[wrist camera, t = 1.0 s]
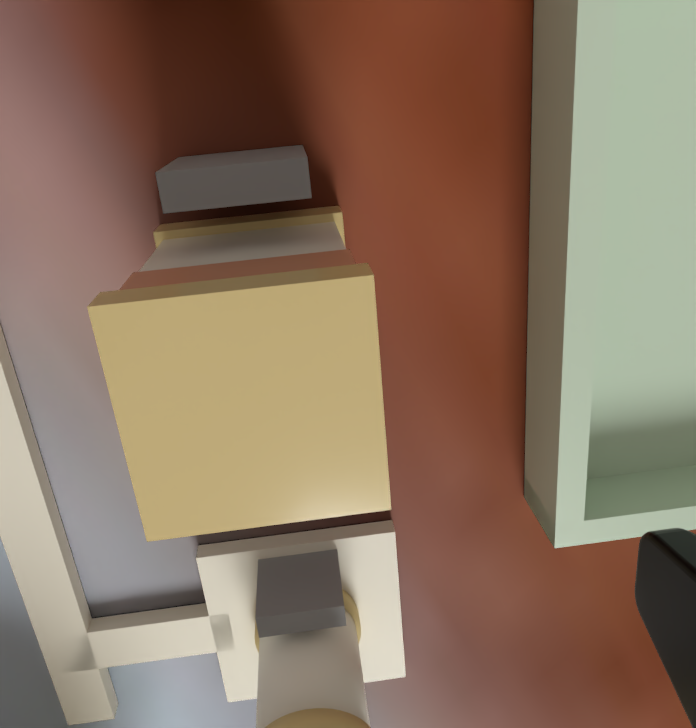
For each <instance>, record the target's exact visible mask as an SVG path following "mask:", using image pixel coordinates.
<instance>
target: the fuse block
mask: <svg viewBox="0 0 696 728" xmlns="http://www.w3.org/2000/svg"><path fill="white" fill-rule="evenodd" d="M155 174H156V179H157V184H158V189H159V194H160V200H161V205H162V210H163V214H164V213H174V212H183V211H193V210H203V209H212V208H222V207H231V206H241V205H250V204H260V203H270V202H279V201H289V200H298V199H308V198H312V195H311V186H310V176H309V167H308V158H307V155H306V152H305V150H304V147H303V145H295V146H285V147H275V148H265V149H255V150H245V151H235V152H225V153H215V154H205V155H195V156H185V157H178V158H176V159H175V160H173V161H172V162H170V163H169V164H167V165H166V166H164V167H163V168H161V169H160V170H158V171H157V172H155ZM0 537H1V540H2V543H3V545H4V548H5V551H6V554H7V557H8V559H9V562H10V565H11V568H12V570H13V573H14V576H15V579H16V582H17V584H18V587H19V590H20V593H21V595H22V598H23V601H24V604H25V607H26V609H27V612H28V615H29V618H30V620H31V623H32V626H33V629H34V632H35V634H36V637H37V640H38V643H39V646H40V648H41V651H42V654H43V657H44V659H45V662H46V665H47V668H48V671H49V673H50V676H51V679H52V682H53V684H54V687H55V690H56V693H57V696H58V698H59V701H60V704H61V707H62V709H63V712H64V715H65V718H66V721H67V723H68V725H75V724H82V723H89V722H96V721H103V720H110V719H114V718H115V714H116V711H117V707H118V700H117V697H116V694H115V691H114V688H113V684H112V681H111V678H110V675H109V671H108V668H107V667H114V666H121V665H128V664H136V663H143V662H150V661H157V660H164V659H171V658H178V657H186V656H193V655H200V654H207V653H214V652H217V655H218V659H219V664H220V669H221V673H222V678H223V682H224V687H225V691H226V696H227V700H228V702H235V701H242V700H249V699H255V698H257V715H256V728H371V727H370V723H369V716H368V709H367V701H366V694H365V687H364V683H366V682H373V681H380V680H387V679H394V678H401V677H406V675H405V661H404V647H403V634H402V620H401V606H400V593H399V579H398V565H397V551H396V538H395V530H394V526H393V522H392V520H388V521H380V522H373V523H365V524H357V525H350V526H342V527H335V528H327V529H319V530H312V531H304V532H296V533H289V534H281V535H274V536H266V537H258V538H251V539H243V540H236V541H228V542H220V543H213V544H205V545H198V550H197V556H196V560H197V565H198V569H199V574H200V578H201V583H202V587H203V592H204V596H205V601H206V603H202V604H195V605H188V606H180V607H173V608H166V609H158V610H151V611H144V612H136V613H129V614H122V615H114V616H107V617H100V618H92V617H91V614H90V611H89V607H88V604H87V601H86V598H85V595H84V591H83V588H82V585H81V582H80V578H79V575H78V572H77V569H76V566H75V562H74V559H73V556H72V553H71V550H70V546H69V543H68V540H67V537H66V534H65V530H64V527H63V524H62V521H61V518H60V514H59V511H58V508H57V505H56V502H55V498H54V495H53V492H52V489H51V485H50V482H49V479H48V476H47V473H46V469H45V466H44V463H43V460H42V457H41V453H40V450H39V447H38V444H37V441H36V437H35V434H34V431H33V428H32V425H31V421H30V418H29V415H28V412H27V409H26V405H25V402H24V399H23V396H22V392H21V389H20V386H19V383H18V380H17V376H16V373H15V370H14V367H13V364H12V360H11V357H10V354H9V351H8V348H7V344H6V341H5V338H4V335H3V332H2V328H1V325H0Z"/></svg>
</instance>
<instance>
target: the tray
mask: <svg viewBox="0 0 696 728" xmlns="http://www.w3.org/2000/svg"><path fill="white" fill-rule="evenodd" d="M524 498H525V500H526V501H527V503H528V505H529V506H530V508H531V510H532V511H533V513H534V515H535V516H536V518H537V520H538V521H539V523H540V525H541V526H542V528H543V530H544V531H545V533H546V535H547V536H548V538H549V540H550V541H551V543H552V545H553V547H554V548H560V547H568V546H575V545H582V544H590V543H597V542H604V541H612V540H619V539H627V538H634V537H641V536H643V535H644V534H645V533H647V532H649V531H656V530H663V529H670V528H682V529H685V530H693V529H696V0H534V22H533V73H532V123H531V173H530V224H529V274H528V324H527V375H526V425H525V475H524Z"/></svg>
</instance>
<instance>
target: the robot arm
mask: <svg viewBox="0 0 696 728" xmlns="http://www.w3.org/2000/svg"><path fill="white" fill-rule="evenodd" d="M635 599H636V604H637V607H638V610H639V613H640V615H641V618H642V620H643V622H644V624H645V626H646V628H647V630H648V633H649V635H650V637H651V639H652V641H653V643H654V645H655V648H656V650H657V652H658V654H659V656H660V658H661V660H662V663H663V665H664V667H665V669H666V671H667V673H668V675H669V678H670V680H671V682H672V684H673V686H674V688H675V690H676V693H677V695H678V697H679V699H680V701H681V703H682V705H683V708H684V710H685V712H686V714H687V716H688V718H689V720H690V723H691V725H692V727H693V728H696V534H694V533H692V532H690V531H687V530H685V529H682V528H670V529H663V530H656V531H649V532H647V533H645V534H644V535H643V536H642V537H641V539H640V543H639V551H638V561H637V571H636V581H635Z"/></svg>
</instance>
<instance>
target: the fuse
mask: <svg viewBox="0 0 696 728" xmlns="http://www.w3.org/2000/svg"><path fill="white" fill-rule="evenodd" d="M153 234H154V239H155V244H156V250H155V251H154V252H153V254H152V255H151V256H150V258H149V259H148V260H147V262H146V263H145V264H144V265H143V267H142V268H141V269H140V271H139V272H133V273H132V275H131V276H130V277H129V278H128V280H127V281H126V282H125V283H124V285H123V286H122V287H121V288H120V290H116V291H107V292H100V293H99V294H98V295H97V296H96V297H95V299H94V300H93V301H92V302H91V303H90V304H89V305H88V307H87V308H88V312H89V316H90V320H91V324H92V328H93V332H94V335H95V339H96V343H97V347H98V351H99V355H100V359H101V363H102V367H103V371H104V375H105V379H106V383H107V387H108V390H109V394H110V398H111V402H112V406H113V410H114V414H115V418H116V422H117V426H118V430H119V434H120V438H121V442H122V445H123V449H124V453H125V457H126V461H127V465H128V469H129V473H130V477H131V481H132V485H133V489H134V493H135V497H136V501H137V504H138V508H139V512H140V516H141V520H142V524H143V528H144V532H145V536H146V540H147V542H149V541H156V540H164V539H172V538H179V537H187V536H195V535H202V534H210V533H218V532H225V531H233V530H240V529H248V528H256V527H263V526H271V525H279V524H286V523H294V522H302V521H309V520H317V519H325V518H332V517H340V516H348V515H355V514H363V513H371V512H378V511H386V510H391V500H390V486H389V473H388V459H387V446H386V433H385V419H384V406H383V392H382V379H381V365H380V352H379V339H378V325H377V312H376V298H375V285H374V274H373V272H372V270H371V268H370V266H369V265H368V263H361V264H356V263H355V261H354V258H353V256H352V254H351V251H350V249H346V248H345V238H344V227H343V216H342V211H341V209H340V207H339V206H330V207H321V208H311V209H302V210H292V211H283V212H273V213H264V214H254V215H245V216H235V217H226V218H216V219H207V220H197V221H188V222H178V223H169V224H160V225H159V226H158V227H157V229H156V230H155V231H154V232H153Z"/></svg>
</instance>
